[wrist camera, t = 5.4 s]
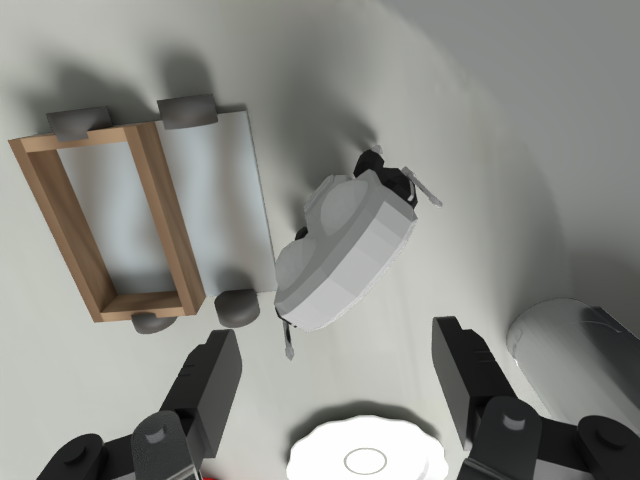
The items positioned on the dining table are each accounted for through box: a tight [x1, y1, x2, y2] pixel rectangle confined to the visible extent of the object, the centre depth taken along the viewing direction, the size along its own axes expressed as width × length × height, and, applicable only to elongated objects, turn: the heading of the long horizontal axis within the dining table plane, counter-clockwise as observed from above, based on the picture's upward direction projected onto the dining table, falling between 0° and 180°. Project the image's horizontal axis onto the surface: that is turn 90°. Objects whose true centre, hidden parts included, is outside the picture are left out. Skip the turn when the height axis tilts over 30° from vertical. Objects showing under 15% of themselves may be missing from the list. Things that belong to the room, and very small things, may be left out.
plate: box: [286, 415, 448, 480], centre depth 46 cm, size 21×21×2 cm
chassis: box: [8, 94, 278, 334], centre depth 30 cm, size 18×20×4 cm
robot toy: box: [274, 145, 442, 360], centre depth 24 cm, size 12×4×15 cm, turn 142°
